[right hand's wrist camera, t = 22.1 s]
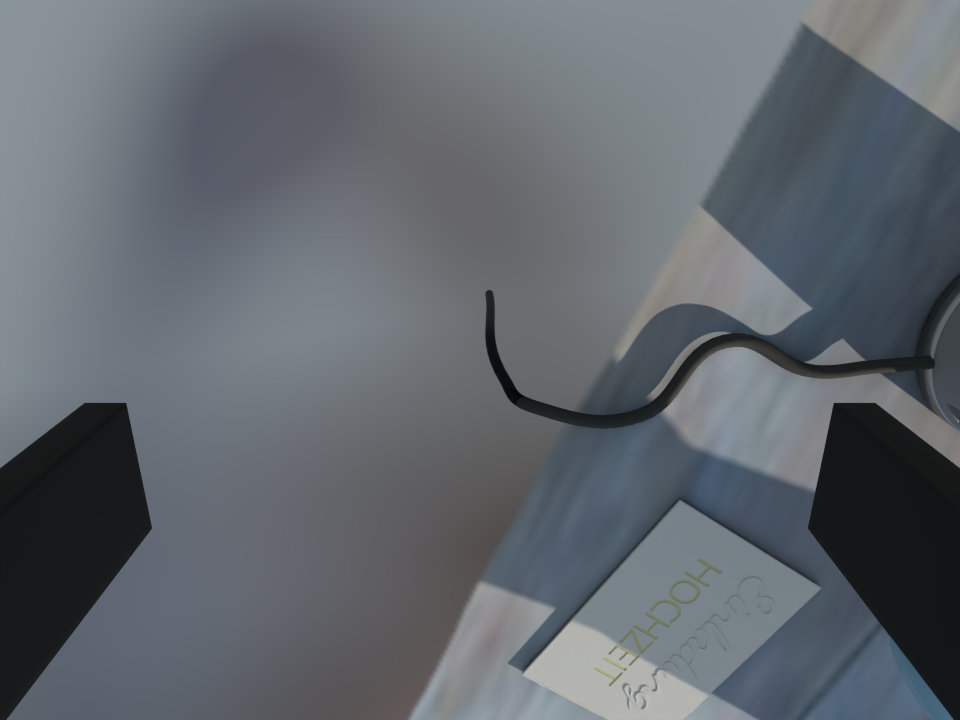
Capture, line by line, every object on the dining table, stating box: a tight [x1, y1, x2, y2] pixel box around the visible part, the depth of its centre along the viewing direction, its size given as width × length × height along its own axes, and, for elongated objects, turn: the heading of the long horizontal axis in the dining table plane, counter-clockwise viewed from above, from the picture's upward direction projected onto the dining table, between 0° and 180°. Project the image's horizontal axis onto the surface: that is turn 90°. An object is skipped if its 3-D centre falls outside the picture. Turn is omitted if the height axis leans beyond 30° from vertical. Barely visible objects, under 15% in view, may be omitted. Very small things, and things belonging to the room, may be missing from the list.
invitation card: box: [522, 500, 821, 720], centre depth 57 cm, size 21×1×15 cm
